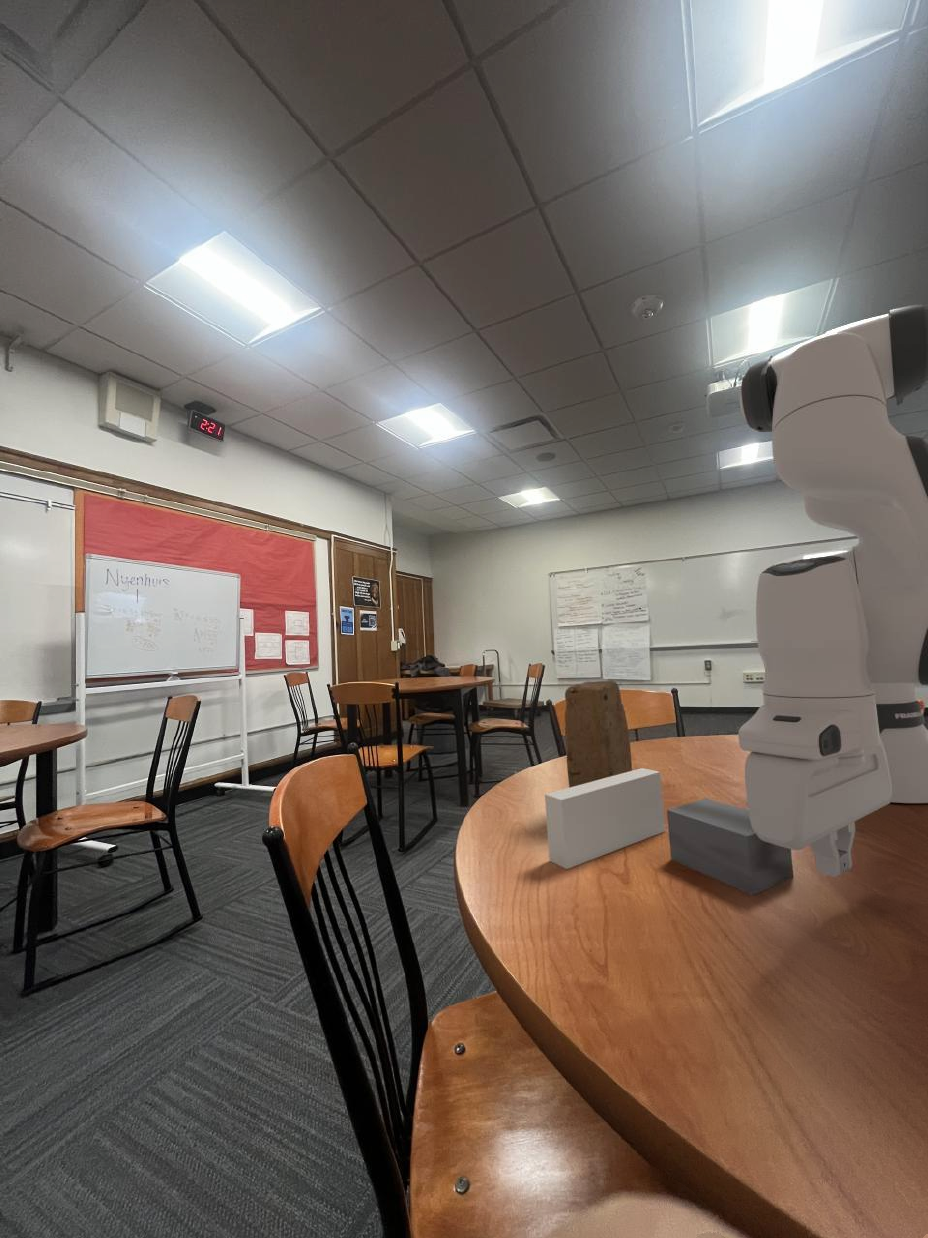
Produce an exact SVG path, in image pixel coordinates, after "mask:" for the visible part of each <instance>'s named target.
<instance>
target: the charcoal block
mask: <svg viewBox="0 0 928 1238" xmlns="http://www.w3.org/2000/svg"><path fill="white" fill-rule="evenodd" d="M666 814H667V815H666V817H667V826H668V837H669V838H668V839H669V849H670V860H671V861H674V862H675V863H678V864H680V865H682V866H684V867H687V868H689V869H692V870H693V871H697V872H699V873H700V874H703V875H706V876H708V877H710V878H713V879H715V880H717V881H719V882H721V883H724V884H725V885H728V886H730V887H733V888H734V889H737V890H739V891H742V892H744V893H746V894H748V895H752V896H755V895H757V894H759V893H762V892H763V891H765V890H768V889H770V888H772V887H775V886H777V885H779V884H781V883H782V882H785V881H788V880H790V879H792V878H794V868H793V859H792V849H788V848H785V847H781V846H777V845H774V844H771V843H768V842H765V841H762V840H761V839H759V837H758V836H757V835H756V833H755V832H754V830H753V828H752V826H751V822H750V817H749V810H748V809H746V808H742V807H738V806H734V805H730V804H726V803H724V802H721V801H720V802H719V801H716V800H713V799H710V798H702V799H699V800H696V801H692V802H689V803H684V804H682V805H678V806H675V807H671V808H669V809H666Z"/></svg>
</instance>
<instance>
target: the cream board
mask: <svg viewBox="0 0 928 1238" xmlns="http://www.w3.org/2000/svg"><path fill="white" fill-rule="evenodd" d="M662 788H663V787H662V778H661V771H657V770H654V769H649V768H644V767H641V768H638V769H632V771H629V772H626V773H622V774H618V775H615V776H611V777H607V778H604V779H600V780H596V781H593V782H589V783H585V784H581V785H578V786H574V787H570V788H569V787H567V788H564V789H559V790H556V791H552V792H550V793H546V794H544V802H545V814H546V816H545V817H546V829H547V840H548V854H549V855H548V856H549V861H550V862H552V863H553V864H556V865H557V866H559V867H561V868H563V869H565V870H568V869H571V868H574V867H576V866H579V865H582V864H585V863H586V862H590V861H591V860H595V859H597V858H599V857H602V856H604V855H605V856H606V855H607V854H609V853H612V852H615V851H618V850H620V849H623V848H626V847H628V846H630V845H633V844H637V843H639V842H641V841H644V840H647V839H650V838H652V837H654V836H657V835H660V834H663V833H664V832H666V823H665V821H666V820H665V813H664V812H665V811H664V799H663V789H662Z"/></svg>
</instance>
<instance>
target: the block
mask: <svg viewBox="0 0 928 1238" xmlns="http://www.w3.org/2000/svg"><path fill="white" fill-rule="evenodd" d="M564 698H565V699H564V700H565V704H566V705H565V711H564V725H565V726H564V735H565V736H564V737H565V749H566V767H567V780H568V788H570V787H574V786H578V785H581V784H585V783H589V782H593V781H596V780H600V779H604V778H607V777H611V776H615V775H618V774H622V773H626V772H629V771H633V765H632V751H631V741H630V734H629V733H630V732H629V726H628V721H627V716H626V711H625V708H624V704H623V702H622V697H621V691H620V686H619V684H618V682H616V681H614V680H599V681H597V680H596V681H584V682H582V683H576V684H573V685H571V686H570V685H569V687H567V689H566V690H565V692H564Z"/></svg>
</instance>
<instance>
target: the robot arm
mask: <svg viewBox="0 0 928 1238" xmlns="http://www.w3.org/2000/svg"><path fill="white" fill-rule="evenodd" d="M926 383H928V307H927V306H925V305H924V304H913V305H907V306H902V307H897V308H894V309H890V310H888V313H886V314H882V315H878V316H874V317H870V318H866V319H862V320H859V321H855V322H851V323H848V324H846V325H841V326H839V327H837V328H833V329H831V330H828V331H826V332H825V333H824V334H821V335H819V336H815V337H813V338H811V339H808V340H807V341H804V342H801V343H799V344H797V345H795V346H793V347H790V348H789V349H786V350H783V351H782V352H780V353H777V354H776V355H774V356H773V355H769V356H767V357H765V358H762V359H761V360H759V361H757V362H756V363H753V365H752V366H750V367H749V369H748V370H747V371H746V373H745V374H744V375H743V377H742V380H741V386H740V390H739V399H738V400H739V407H740V411H741V414H742V416H743V418H744V419H745V421H746V422H747V425H748V427H749V428H751V429H753V430H754V431H757V432H758V433H771V437H772V438H771V440H772V441H771V443H772V444H771V445H772V446H771V447H772V457H773V463H774V468H775V471H776V474H777V476H778V477H779V478H780V480H781V481H782V482H783V483H784V484H785V485H787V487H789V488H790V489H792V490H794V491H795V492H798V493H800V494H802V495H803V500H804V507H805V508H804V511H805V513H806V515H807V516H808V518H809V519H810V520H811V521H812V522H814V523H815V524H818V525H820V526H823V527H825V528H829V529H834V530H839V531H843V532H847V533H850V534H852V535H854V536H855V537H856V538H857V539H858V544H856V545H854V546H852V547H844V548H838V549H830V550H823V551H815V552H808V553H803V554H799V555H796V556H792V557H789V558H785V559H783V560H780V561H776V562H774V563H773V564H772V565H771V566H770V567H767V568H766V569H765V570H763V571H762V572H761V573H760V574H759V576H758V581H757V590H756V599H755V600H756V603H755V613H756V614H755V617H756V619H755V620H756V621H755V623H756V638H757V648H758V653H759V656H760V657H761V658H760V659H761V660H762V663H763V667H764V679H763V683H762V699H763V705H760V707H758V709H757V711H756V712H755V713H754V715H752V716H751V718H750V719H749V720H747V721H746V722H745V723H744V724H743V725H741V727H740V728H739V729H738V736H737V737H738V744H739V747H740V749H741V750H742V751H746V752H747V751H748V752H750V753H749V754H748V755H747V757H746V759H745V763H744V783H745V792H746V793H745V795H746V802H747V810H749V817H750V822H751V826H752V828H753V830H754V832H755V833H756V835H757V836H758V837H759V839H761V840H762V841H765V842H768V843H771V844H774V845H777V846H781V847H785V848H788V849H791V851H792V850H793V851H800V850H802V849H804V848H806V847H808V846H810V848H811V850H812V852H813V853H814V860H815V861H814V862H815V868H816V870H817V871H818V873H820V874H823V875H825V876H829V877H832V878H837V877H838V876H840V875H842V874H843V873H845V872H846V871H848V870H850V869H852V867H853V863H852V853H851V852H852V848H853V843H854V838H855V834H856V824H855V823H856V821H858V820H861V819H862V818H864V817H866V816H868V815H870V814H872V813H874V812H875V811H877V810H880V809H882V808H883V807H885V806H887V805H889V804H891V803H900V804H928V729H927V728H926V727H925V725H924V724H925V723H926V721H925V717H924V714H925V713H924V712H925V709H926V706H925V702H924V700H923V699H917V698H916V691H915V684H920V685H922V686H928V442H927V441H926V440H925V439H924V438H922V437H920V436H911V435H904V434H901V433H900V432H899V431H898V430H896V429H895V427H894V426H893V425H892V424H891V422H890V419H889V416H888V410H887V409H888V408H887V399H888V400H889V399H892V398H895V399H896V406H900V405H902V404H903V403H904V399H905V398H906V397H908V396H909V395H911V394H913V393H915V392H916V391H919V390H920V389H922V388H923V387H924V386H925V384H926Z"/></svg>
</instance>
